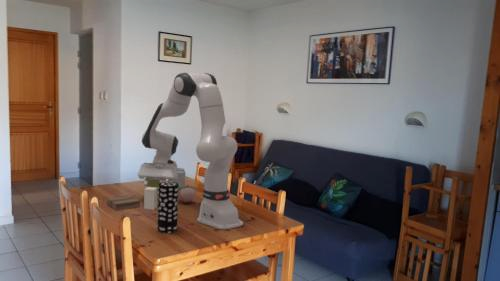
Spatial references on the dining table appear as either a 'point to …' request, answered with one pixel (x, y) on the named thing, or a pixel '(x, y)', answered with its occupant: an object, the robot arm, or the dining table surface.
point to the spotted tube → (167, 207)
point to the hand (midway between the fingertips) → (154, 186)
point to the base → (123, 202)
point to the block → (150, 198)
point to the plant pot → (153, 183)
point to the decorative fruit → (187, 193)
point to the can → (180, 177)
